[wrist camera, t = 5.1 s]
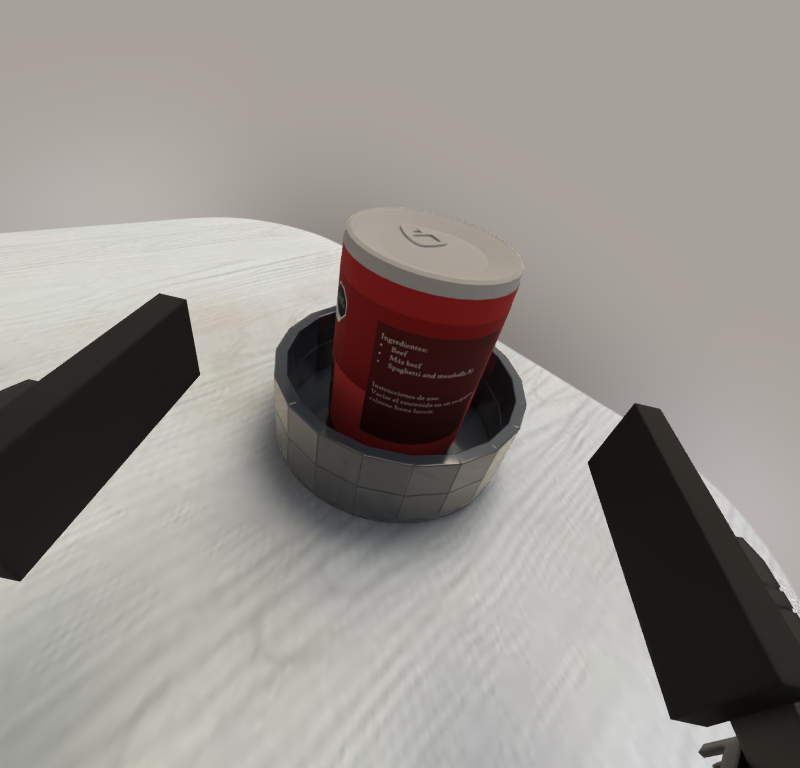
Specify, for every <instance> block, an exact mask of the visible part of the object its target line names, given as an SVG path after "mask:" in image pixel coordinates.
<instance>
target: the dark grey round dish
mask: <svg viewBox="0 0 800 768" xmlns="http://www.w3.org/2000/svg"><path fill="white" fill-rule="evenodd" d="M336 309H337V305H336V306H333V307H330V308H327V309H324V310H321V311H318V312H315V313H312V314H310V315H308V316H307V317H306V318H304V319H303V320H301V321H300V322H298V323H297V324H295V325H294V326H292V327H291V328H290V329H289V330H288V332H287V333H286V335H285V336H284V338H283V339H282V341H281V342H280V344H279V345H278V347H277V349H276V355H275V371H274V388H275V425H276V437H277V439H278V443H279V446H280V450H281V452H282V455H283V457H284V459H285V461H286V463H287V465H288V466H289V467H290V469H291V470H292V472H293V473H294V475H295V476H296V477H297V478H298V479H299V480H300V481H301V482H302V483H303V485H304V486H305V487H307V488H308V489H309V490H310V491H311V492H313V493H314V494H315V495H316V496H318V497H319V498H321V499H322V500H324V501H326V502H327V503H329V504H330V505H332V506H334V507H336V508H338V509H341V510H343V511H345V512H347V513H350V514H353V515H356V516H359V517H362V518H365V519H370V520H375V521H381V522H390V523H417V522H423V521H429V520H434V519H437V518H440V517H443V516H446V515H449V514H451V513H453V512H455V511H457V510H459V509H461V508H463V507H464V506H466V505H467V504H469V503H470V502H471V501H473V500H474V499H475V498H476V497H477V496H478V495H479V494H480V493H481V492H482V491H483V489H484V488H485V486H486V485H487V484H488V483H489V482H490V481H491V479H492V478H493V476H494V474H495V472H496V471H497V469H498V467H499V465H500V463H501V462H502V460H503V458H504V456H505V455H506V453H507V451H508V449H509V447H510V446H511V444H512V442H513V440H514V439H515V437H516V435H517V433H518V431H519V430H520V427H521V423H522V420H523V416H524V413H525V409H526V399H525V394H524V390H523V385H522V380H521V378H520V377H519V375H518V374H517V372H516V371H515V369H514V368H513V366H512V364H511V363H510V361H509V360H508V358H507V357H506V356H505V355H504V354H503V353H502V352H501V351H499V350H498V349H497V348H496V347H495V346H494V348H493V351H492V353H491V355H490V358H489V360H488V363H487V365H486V367H485V370H484V372H483V374H482V377H481V379H480V381H479V384H478V386H477V388H476V391H475V393H474V395H473V398H472V400H471V402H470V405H469V407H468V410H467V412H466V414H465V417H464V419H463V421H462V424H461V426H460V428H459V431H458V433H457V435H456V438H455V439H454V441H453V443H452V444H451V446H450V447H449V448H448V449H447V450H446V451H445V452H443V453H442V454H438V455H414V456H412V455H407V454H403V453H398V452H393V451H389V450H384V449H379V448H375V447H370V446H366V445H364V444H362V443H360V442H358V441H356V440H354V439H352V438H350V437H348V436H346V435H344V434H342V433H340V432H338V431H336V430H335V429H334V427H333V424H332V421H331V418H330V414H329V409H328V400H329V388H330V377H331V366H332V354H333V343H334V332H335V320H336Z"/></svg>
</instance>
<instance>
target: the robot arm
mask: <svg viewBox="0 0 800 768" xmlns="http://www.w3.org/2000/svg"><path fill="white" fill-rule="evenodd" d="M199 375H200V371H199V366H198V360H197V355H196V349H195V344H194V339H193V333H192V328H191V322H190V317H189V311H188V306H187V300H186V299H182V298H177V297H173V296H169V295H164V294H160V293H159V294H158V295H156V296H155V297H154V298H152V299H151V300H150V301H148V302H147V303H145V304H144V305H143V306H141V307H140V308H139V309H137V310H136V311H134V312H133V313H132V314H130V315H129V316H128V317H126V318H125V319H123V320H122V321H121V322H119V323H118V324H117V325H115V326H114V327H112V328H111V329H110V330H108V331H107V332H106V333H104V334H103V335H101V336H100V337H99V338H97V339H96V340H95V341H93V342H92V343H90V344H89V345H88V346H86V347H85V348H84V349H82V350H81V351H79V352H78V353H77V354H75V355H74V356H73V357H71V358H70V359H68V360H67V361H66V362H64V363H63V364H62V365H60V366H59V367H57V368H56V369H55V370H53V371H52V372H51V373H49V374H48V375H46V376H45V377H44V378H42V379H41V380H40V381H34V380H30V379H28V380H25V381H23V382H21V383H18V384H16V385H13V386H11V387H8V388H6V389H4V390H1V391H0V577H1V578H6V579H10V580H15V581H21V580H22V579H23V578H24V577H25V576H26V575H27V573H28V572H29V571H30V570H31V569H32V568H33V566H34V565H35V564H36V563H37V562H38V561H39V560H40V558H41V557H42V556H43V555H44V554H45V553H46V552H47V550H48V549H49V548H50V547H51V546H52V545H53V543H54V542H55V541H56V540H57V539H58V538H59V537H60V535H61V534H62V533H63V532H64V531H65V530H66V529H67V527H68V526H69V525H70V524H71V523H72V522H73V520H74V519H75V518H76V517H77V516H78V515H79V514H80V512H81V511H82V510H83V509H84V508H85V507H86V505H87V504H88V503H89V502H90V501H91V500H92V499H93V497H94V496H95V495H96V494H97V493H98V492H99V491H100V489H101V488H102V487H103V486H104V485H105V484H106V482H107V481H108V480H109V479H110V478H111V477H112V476H113V474H114V473H115V472H116V471H117V470H118V469H119V468H120V466H121V465H122V464H123V463H124V462H125V461H126V459H127V458H128V457H129V456H130V455H131V454H132V453H133V451H134V450H135V449H136V448H137V447H138V446H139V445H140V443H141V442H142V441H143V440H144V439H145V438H146V436H147V435H148V434H149V433H150V432H151V431H152V430H153V428H154V427H155V426H156V425H157V424H158V423H159V422H160V420H161V419H162V418H163V417H164V416H165V415H166V413H167V412H168V411H169V410H170V409H171V408H172V407H173V405H174V404H175V403H176V402H177V401H178V400H179V399H180V397H181V396H182V395H183V394H184V393H185V392H186V390H187V389H188V388H189V387H190V386H191V385H192V384H193V382H194V381H195V380H196V379H197V378H198V377H199ZM588 465H589V468H590V471H591V475H592V478H593V481H594V484H595V487H596V490H597V493H598V496H599V499H600V502H601V505H602V509H603V512H604V515H605V518H606V521H607V524H608V527H609V530H610V533H611V536H612V539H613V543H614V546H615V549H616V552H617V555H618V558H619V561H620V564H621V567H622V570H623V573H624V577H625V580H626V583H627V586H628V589H629V592H630V595H631V598H632V601H633V604H634V607H635V611H636V614H637V617H638V620H639V623H640V626H641V629H642V632H643V635H644V638H645V641H646V645H647V648H648V651H649V654H650V657H651V660H652V663H653V666H654V669H655V672H656V676H657V679H658V682H659V685H660V688H661V691H662V694H663V697H664V700H665V703H666V706H667V710H668V713H669V716H670V719H672V720H676V721H681V722H686V723H691V724H695V725H700V726H705V727H709V726H713V725H716V724H720V723H723V722H727V721H730V722H731V724H732V727H733V729H734V732H735V734H736V736H737V737H732V738H728V739H724V740H720V741H715V742H711V743H707V744H703V746H702V747H701V749H700V750H699V753H700V754H701V755H702V756H703V757H704V758H706V757H711V756H715V755H720V754H723V757H722V761H720V762H717V763H715V764H713V767H714V768H800V618H799V616H798V615H797V613H794V612H793V611H792V608H793V607H792V605H791V603H790V602H789V600H788V598H787V597H786V595H785V594H784V592H783V591H780V590H779V587H780V586H779V584H778V582H777V581H776V579H775V578H774V576H773V574H772V573H771V571H770V569H769V568H768V566H767V565H766V563H765V561H764V560H763V559H762V558H761V557H760V556H759V555H758V554H757V553H756V552H755V551H754V550H753V548H752V547H751V546H750V545H749V544H748V543H747V542H746V541H745V540H744V539H743V538H741V537H736V536H735V535H734V533H733V531H732V530H731V528H730V526H729V524H728V523H727V521H726V519H725V518H724V516H723V514H722V513H721V511H720V509H719V508H718V506H717V504H716V503H715V501H714V499H713V497H712V496H711V494H710V492H709V491H708V489H707V487H706V486H705V484H704V482H703V481H702V479H701V477H700V475H699V474H698V472H697V470H696V469H695V467H694V465H693V464H692V462H691V461H690V459H689V457H688V455H687V453H686V452H685V450H684V448H683V447H682V445H681V443H680V442H679V440H678V438H677V437H676V435H675V433H674V431H673V430H672V428H671V426H670V425H669V423H668V421H667V420H666V418H665V416H664V415H663V413H662V411H661V410H660V409H658V408H653V407H649V406H645V405H641V404H636V403H635V404H634V405H633V406H632V407H631V409H630V410H629V411H628V412H627V414H626V415H625V416H624V417H623V419H622V420H621V421H620V422H619V424H618V425H617V426H616V427H615V429H614V430H613V431H612V432H611V434H610V435H609V436H608V437H607V439H606V440H605V441H604V443H603V444H602V445H601V446H600V448H599V449H598V450H597V451H596V453H595V454H594V455H593V456H592V458H591V459H590V460H589V461H588Z"/></svg>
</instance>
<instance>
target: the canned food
mask: <svg viewBox="0 0 800 768" xmlns="http://www.w3.org/2000/svg"><path fill="white" fill-rule="evenodd" d="M523 272H524V263H523V261H522V259H521V257H520V256H519V255H518V254H517V252H516V251H515V250H514V249H513V248H511V247H510V246H509V245H508V244H507V243H506V242H504V241H503V240H501V239H500V238H498V237H497V236H495V235H493V234H491V233H489V232H487V231H486V230H484V229H481V228H479V227H477V226H475V225H472V224H469V223H467V222H464V221H461V220H459V219H455V218H452V217H449V216H445V215H441V214H438V213H433V212H429V211H423V210H418V209H409V208H400V207H379V208H373V209H366V210H363V211H360V212H357V213H355V214H354V215H352V216H350V217H349V219H348V220H347V222H346V230H345V233H344V237H343V248H342V256H341V264H340V275H339V287H338V298H337V309H336V320H335V332H334V343H333V354H332V366H331V377H330V388H329V400H328V409H329V414H330V418H331V421H332V424H333V427H334V429H335V430H336V431H338V432H340V433H342V434H344V435H346V436H348V437H350V438H352V439H354V440H356V441H358V442H360V443H362V444H364V445H366V446H370V447H375V448H379V449H384V450H389V451H393V452H398V453H403V454H407V455H412V456H414V455H438V454H442V453H443V452H445V451H446V450H447V449H448V448H449V447H450V446H451V444H452V443H453V441H454V439H455V438H456V435H457V433H458V431H459V428H460V426H461V424H462V421H463V419H464V417H465V414H466V412H467V410H468V407H469V405H470V402H471V400H472V398H473V395H474V393H475V391H476V388H477V386H478V384H479V381H480V379H481V377H482V374H483V372H484V370H485V367H486V365H487V363H488V360H489V358H490V355H491V353H492V351H493V348H494V346H495V344H496V341H497V339H498V336H499V334H500V332H501V329H502V327H503V325H504V322H505V320H506V318H507V316H508V313H509V311H510V308H511V305H512V302H513V300H514V298H515V295H516V292H517V290H518V288H519V285H520V279H521V277H522V274H523Z"/></svg>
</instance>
